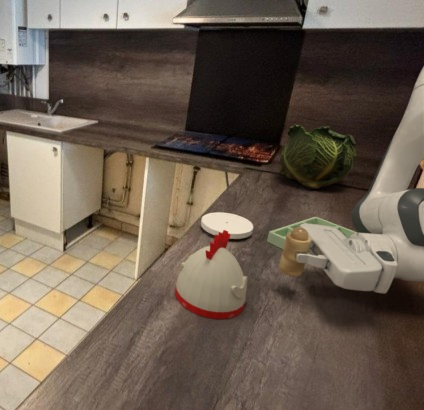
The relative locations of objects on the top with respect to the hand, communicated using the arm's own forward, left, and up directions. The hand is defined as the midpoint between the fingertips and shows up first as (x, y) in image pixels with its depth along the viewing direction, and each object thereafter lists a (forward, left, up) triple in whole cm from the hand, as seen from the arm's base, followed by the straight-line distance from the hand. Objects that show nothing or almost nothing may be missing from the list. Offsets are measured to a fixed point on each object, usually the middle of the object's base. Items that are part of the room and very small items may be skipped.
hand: (290, 249), depth 73 cm
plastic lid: (+26, -12, -10) cm, 30 cm away
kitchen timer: (+6, +15, -10) cm, 19 cm away
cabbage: (+39, -72, -10) cm, 82 cm away
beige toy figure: (-1, -1, -5) cm, 5 cm away
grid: (+9, -27, -10) cm, 30 cm away
